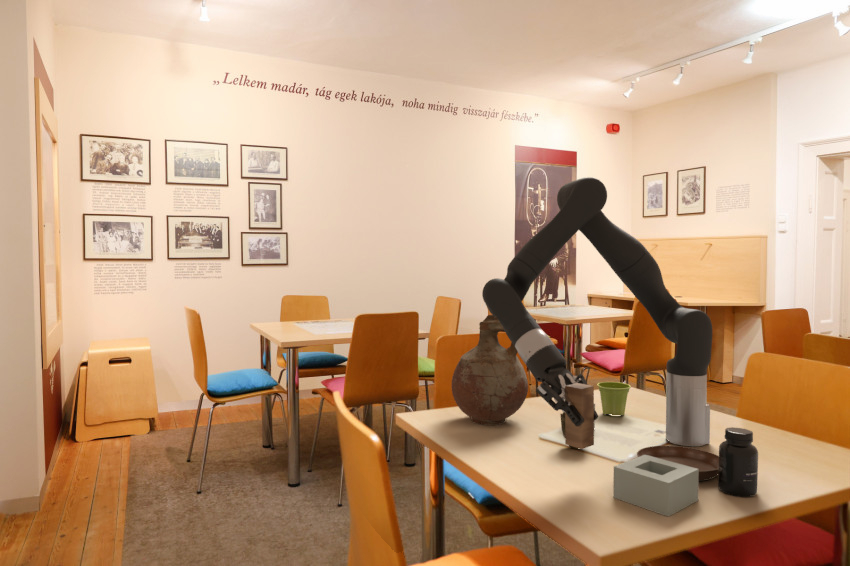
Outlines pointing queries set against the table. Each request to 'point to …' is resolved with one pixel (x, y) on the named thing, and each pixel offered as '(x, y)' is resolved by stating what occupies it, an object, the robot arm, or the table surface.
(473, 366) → the jug
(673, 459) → the plant saucer
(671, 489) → the socket block
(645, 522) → the table surface
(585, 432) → the brown wooden bar
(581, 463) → the table surface
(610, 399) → the plant pot
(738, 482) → the supplement bottle
